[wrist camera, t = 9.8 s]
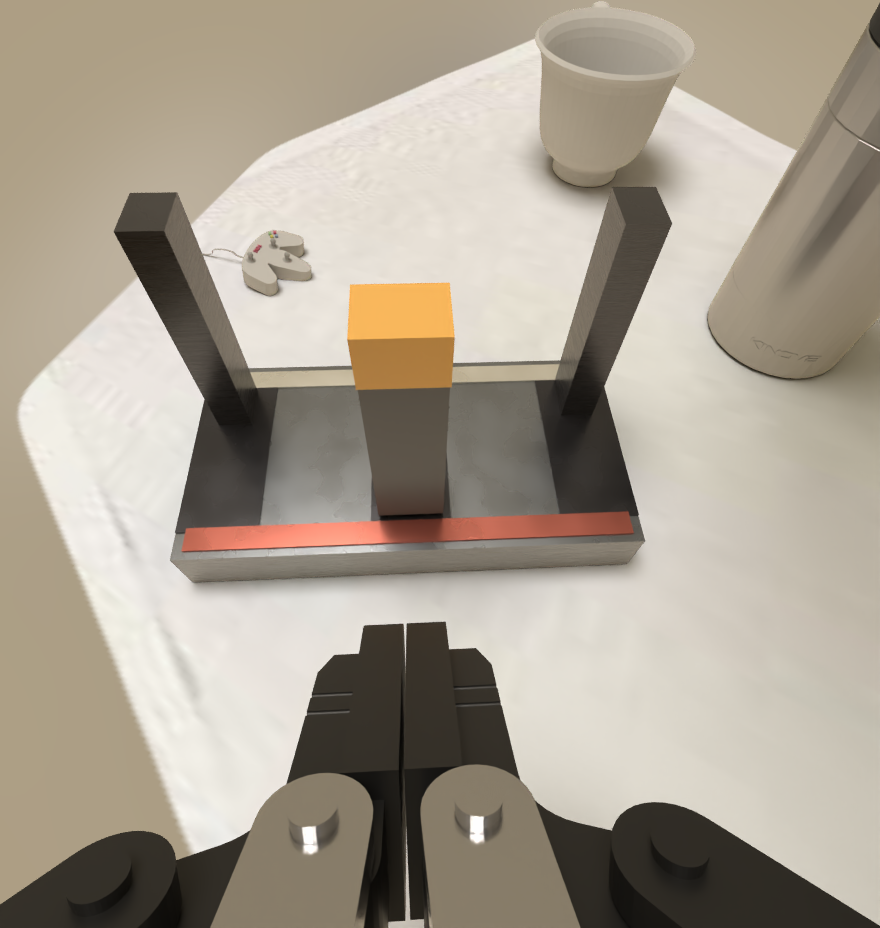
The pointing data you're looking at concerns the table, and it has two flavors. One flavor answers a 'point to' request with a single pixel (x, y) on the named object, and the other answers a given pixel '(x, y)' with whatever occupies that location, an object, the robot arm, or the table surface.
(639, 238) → the pillared base stand
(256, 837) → the robot arm
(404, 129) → the table surface
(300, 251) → the game controller
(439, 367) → the lever
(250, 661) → the table surface
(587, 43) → the teacup
